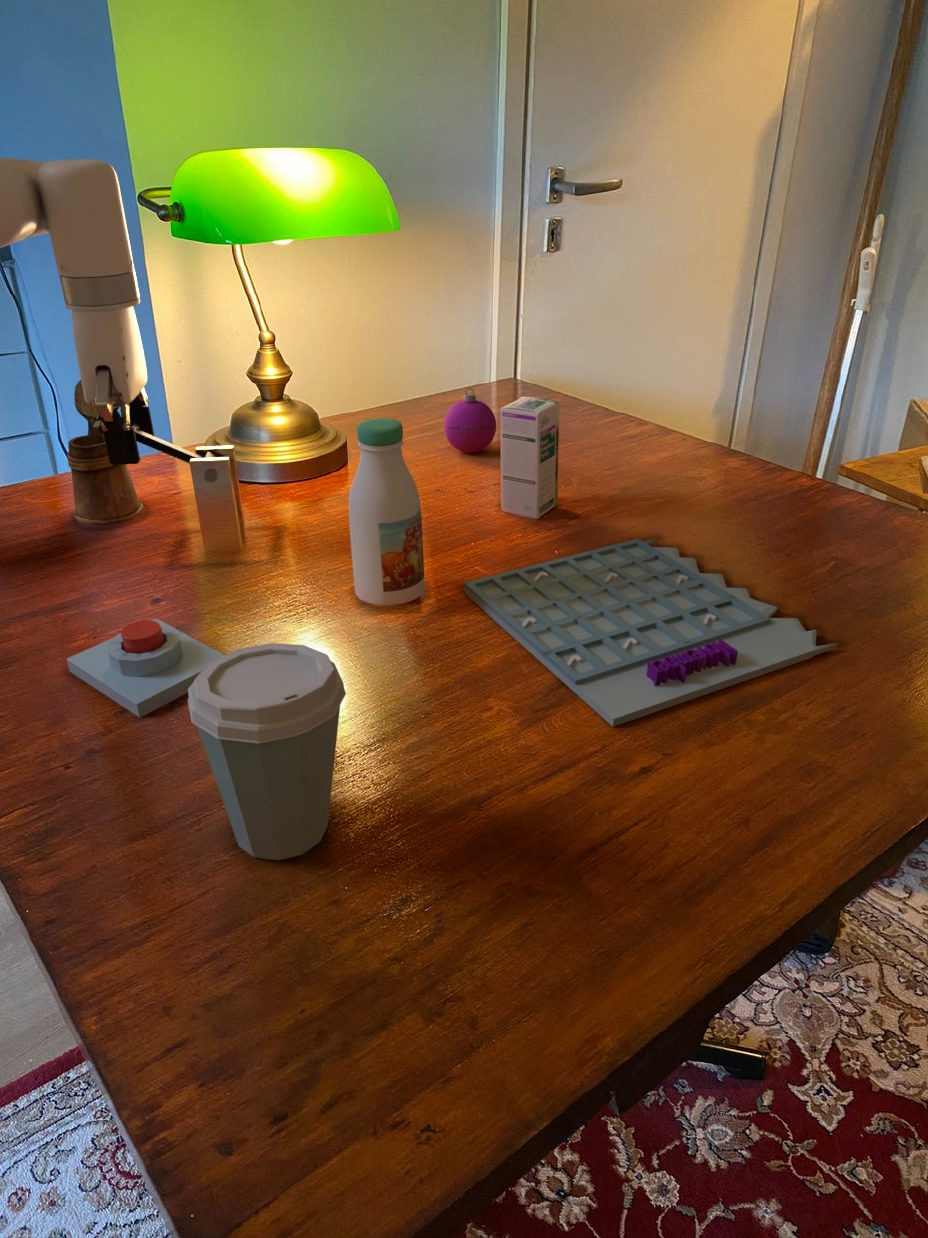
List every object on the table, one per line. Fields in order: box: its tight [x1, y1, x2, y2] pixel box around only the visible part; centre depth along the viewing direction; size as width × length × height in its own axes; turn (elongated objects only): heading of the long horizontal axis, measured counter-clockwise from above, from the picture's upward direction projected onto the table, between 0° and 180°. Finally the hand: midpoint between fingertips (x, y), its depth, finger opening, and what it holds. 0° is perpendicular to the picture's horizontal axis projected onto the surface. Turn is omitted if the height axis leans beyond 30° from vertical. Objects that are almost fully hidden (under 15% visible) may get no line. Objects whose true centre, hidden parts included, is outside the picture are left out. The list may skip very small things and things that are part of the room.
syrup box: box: [499, 395, 560, 520], centre depth 119 cm, size 6×6×14 cm
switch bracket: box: [188, 445, 247, 554], centre depth 109 cm, size 12×10×13 cm
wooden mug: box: [66, 379, 144, 526], centre depth 119 cm, size 9×14×18 cm, turn 6°
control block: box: [66, 618, 225, 718], centre depth 87 cm, size 12×10×4 cm
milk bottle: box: [348, 417, 425, 606], centre depth 96 cm, size 8×8×20 cm
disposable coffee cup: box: [187, 642, 347, 861], centre depth 65 cm, size 11×11×15 cm
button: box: [120, 619, 164, 654], centre depth 86 cm, size 4×4×2 cm
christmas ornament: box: [443, 387, 497, 454], centre depth 141 cm, size 8×8×10 cm
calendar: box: [463, 537, 838, 727], centre depth 96 cm, size 27×29×2 cm
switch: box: [130, 420, 220, 465], centre depth 105 cm, size 12×5×2 cm, turn 95°
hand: (133, 450), depth 105 cm, fingers open, 7 cm apart
